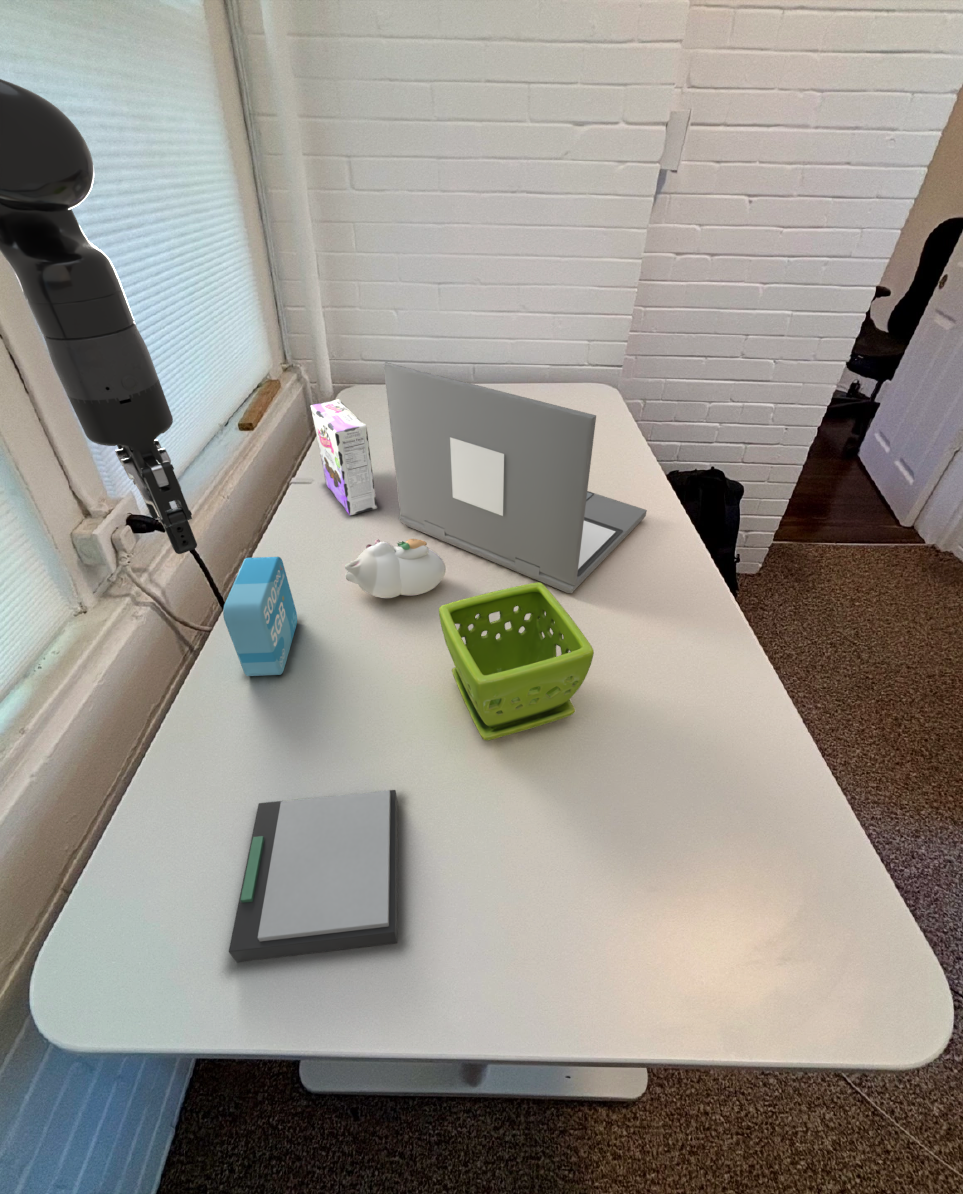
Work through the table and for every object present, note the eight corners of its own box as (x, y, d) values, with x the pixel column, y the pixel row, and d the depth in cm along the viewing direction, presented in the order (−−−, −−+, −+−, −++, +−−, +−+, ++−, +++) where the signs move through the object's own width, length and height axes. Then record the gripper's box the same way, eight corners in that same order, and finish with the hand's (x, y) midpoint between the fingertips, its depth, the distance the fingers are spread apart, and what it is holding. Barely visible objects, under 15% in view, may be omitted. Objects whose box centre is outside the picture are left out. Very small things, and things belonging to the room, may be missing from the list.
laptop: (644, 522, 105) (676, 359, 87) (571, 599, 89) (591, 418, 71) (486, 470, 121) (485, 323, 103) (399, 527, 105) (380, 364, 87)
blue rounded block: (281, 680, 77) (259, 610, 69) (246, 681, 77) (220, 611, 69) (298, 619, 86) (280, 551, 78) (267, 620, 86) (246, 552, 78)
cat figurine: (447, 528, 87) (343, 532, 83) (454, 579, 84) (346, 584, 81) (438, 555, 96) (343, 559, 92) (444, 602, 93) (346, 608, 90)
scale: (235, 962, 51) (225, 948, 49) (264, 815, 62) (256, 798, 60) (397, 943, 52) (393, 928, 50) (397, 801, 63) (394, 784, 61)
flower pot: (586, 726, 71) (599, 651, 63) (477, 762, 67) (475, 686, 59) (537, 649, 81) (542, 576, 73) (440, 676, 77) (434, 602, 69)
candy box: (325, 485, 117) (308, 403, 107) (353, 477, 119) (340, 397, 109) (349, 517, 108) (333, 431, 97) (379, 508, 110) (367, 424, 99)
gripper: (51, 369, 56) (120, 516, 66) (81, 416, 47) (156, 577, 57) (135, 352, 59) (189, 495, 69) (178, 393, 50) (232, 549, 61)
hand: (174, 532), depth 63 cm, fingers open, 8 cm apart
